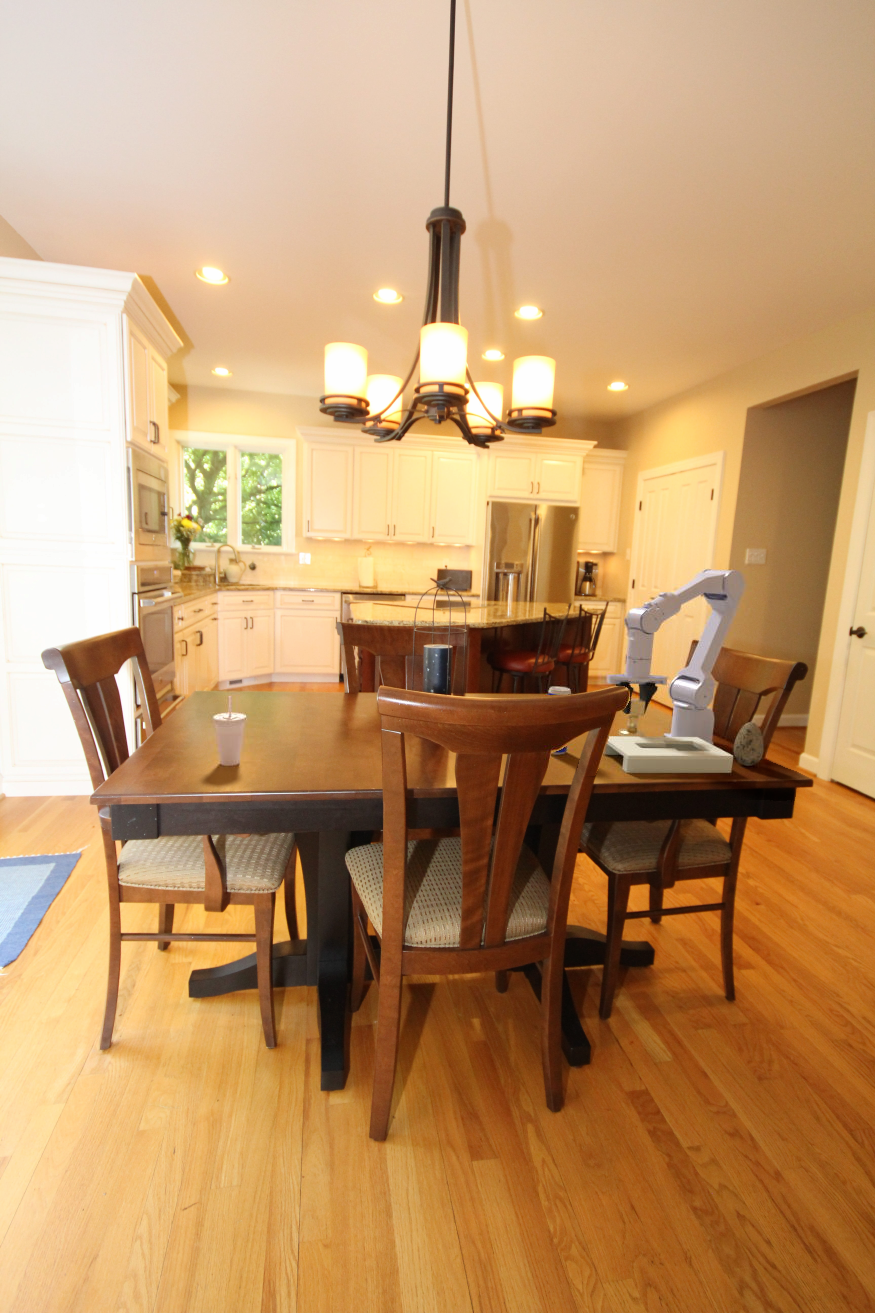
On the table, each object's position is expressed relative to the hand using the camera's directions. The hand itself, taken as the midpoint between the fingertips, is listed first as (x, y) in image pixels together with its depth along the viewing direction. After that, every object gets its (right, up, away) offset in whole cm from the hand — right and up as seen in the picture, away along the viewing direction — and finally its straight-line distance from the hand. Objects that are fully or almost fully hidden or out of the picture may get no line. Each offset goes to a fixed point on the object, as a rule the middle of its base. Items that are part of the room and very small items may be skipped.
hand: (633, 713), depth 147 cm
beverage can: (-21, -9, -7) cm, 23 cm away
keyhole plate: (+3, -10, -11) cm, 15 cm away
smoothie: (-90, -8, -25) cm, 93 cm away
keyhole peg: (0, -6, +1) cm, 6 cm away
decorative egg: (+22, -11, -10) cm, 27 cm away
